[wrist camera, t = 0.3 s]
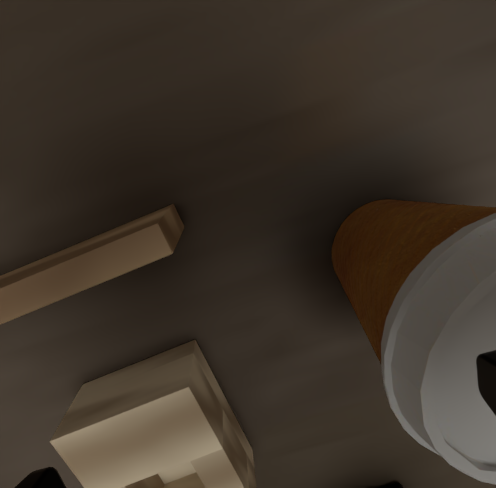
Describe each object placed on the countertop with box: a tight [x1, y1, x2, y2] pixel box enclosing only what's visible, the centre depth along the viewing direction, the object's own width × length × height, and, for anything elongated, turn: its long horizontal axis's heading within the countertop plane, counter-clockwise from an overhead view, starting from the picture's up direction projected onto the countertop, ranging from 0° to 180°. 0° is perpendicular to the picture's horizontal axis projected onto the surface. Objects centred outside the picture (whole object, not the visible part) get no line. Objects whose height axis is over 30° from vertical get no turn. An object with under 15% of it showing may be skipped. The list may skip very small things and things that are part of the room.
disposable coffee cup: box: [332, 199, 496, 484], centre depth 16 cm, size 10×10×12 cm
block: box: [50, 340, 256, 488], centre depth 22 cm, size 10×8×4 cm
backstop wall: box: [0, 204, 184, 324], centre depth 18 cm, size 2×13×5 cm, turn 112°
